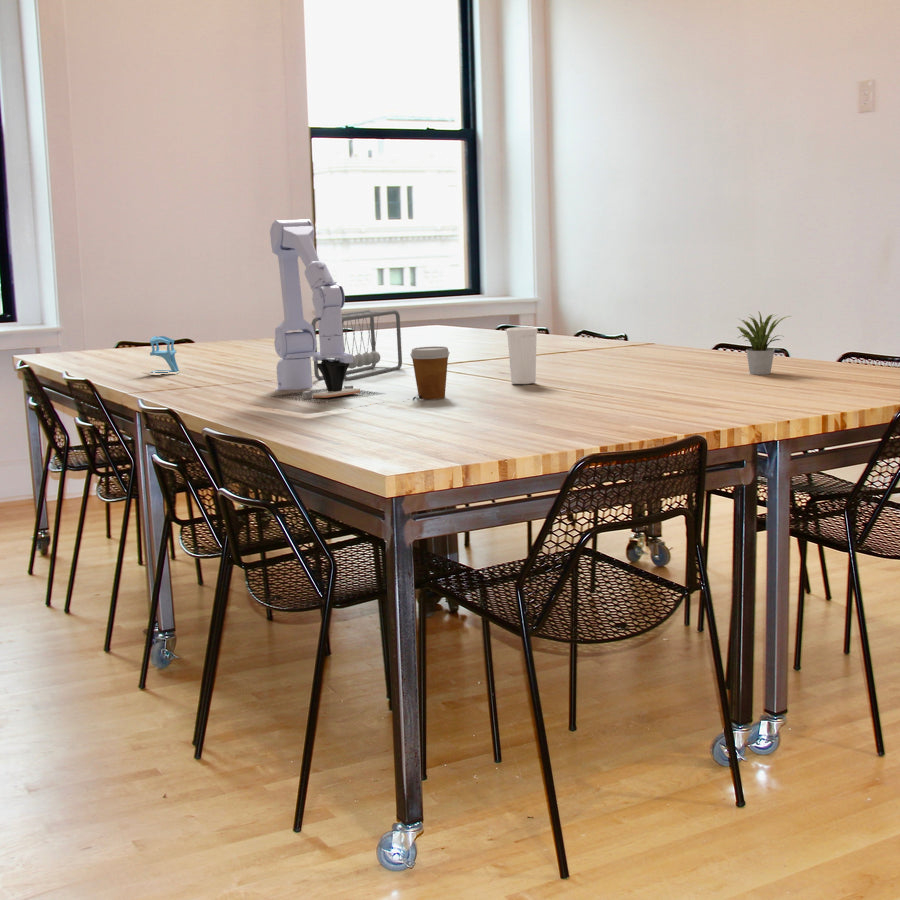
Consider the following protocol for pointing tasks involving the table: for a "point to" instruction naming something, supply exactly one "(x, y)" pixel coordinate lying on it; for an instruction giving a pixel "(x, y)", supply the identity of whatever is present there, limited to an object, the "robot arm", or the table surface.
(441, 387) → the disposable coffee cup
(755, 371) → the house plant
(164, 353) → the chair
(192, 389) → the table surface
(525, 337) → the cup
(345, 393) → the tile
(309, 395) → the board
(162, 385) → the table surface
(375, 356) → the newton's cradle
